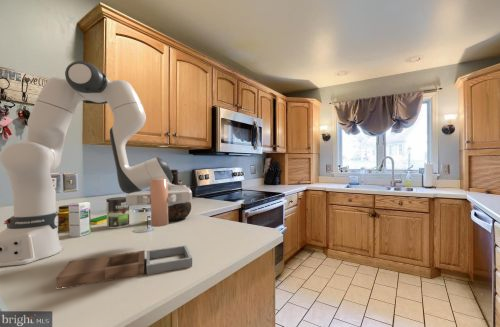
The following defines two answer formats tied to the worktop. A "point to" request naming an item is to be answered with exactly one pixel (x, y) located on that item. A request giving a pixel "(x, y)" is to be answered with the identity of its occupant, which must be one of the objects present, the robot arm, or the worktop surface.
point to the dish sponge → (99, 220)
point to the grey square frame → (168, 264)
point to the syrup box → (79, 219)
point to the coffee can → (117, 212)
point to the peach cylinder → (159, 202)
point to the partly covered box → (101, 269)
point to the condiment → (63, 219)
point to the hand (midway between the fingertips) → (158, 200)
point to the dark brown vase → (178, 209)
